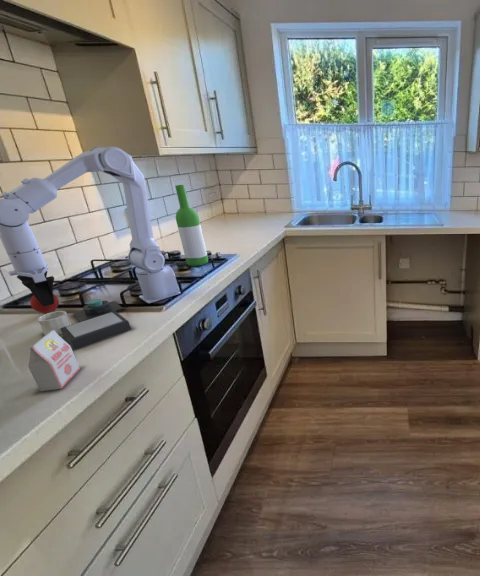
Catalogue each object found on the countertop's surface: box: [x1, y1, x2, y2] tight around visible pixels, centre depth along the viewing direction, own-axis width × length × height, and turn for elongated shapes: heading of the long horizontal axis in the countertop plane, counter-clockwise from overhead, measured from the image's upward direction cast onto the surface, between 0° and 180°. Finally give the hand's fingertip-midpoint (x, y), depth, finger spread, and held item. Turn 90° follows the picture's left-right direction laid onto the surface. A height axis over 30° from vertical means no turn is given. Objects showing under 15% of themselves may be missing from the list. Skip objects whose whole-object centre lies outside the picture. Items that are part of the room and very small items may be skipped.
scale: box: [60, 311, 132, 350], centre depth 92 cm, size 12×10×3 cm
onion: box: [29, 293, 60, 315], centre depth 102 cm, size 6×6×8 cm
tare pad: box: [72, 300, 125, 322], centre depth 103 cm, size 10×8×2 cm
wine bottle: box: [174, 184, 209, 267], centre depth 136 cm, size 8×8×30 cm
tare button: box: [87, 298, 103, 308], centre depth 103 cm, size 3×3×2 cm
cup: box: [36, 310, 72, 336], centre depth 93 cm, size 6×6×4 cm
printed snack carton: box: [27, 330, 81, 392], centre depth 73 cm, size 4×7×10 cm, turn 12°
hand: (46, 302), depth 91 cm, fingers open, 5 cm apart
